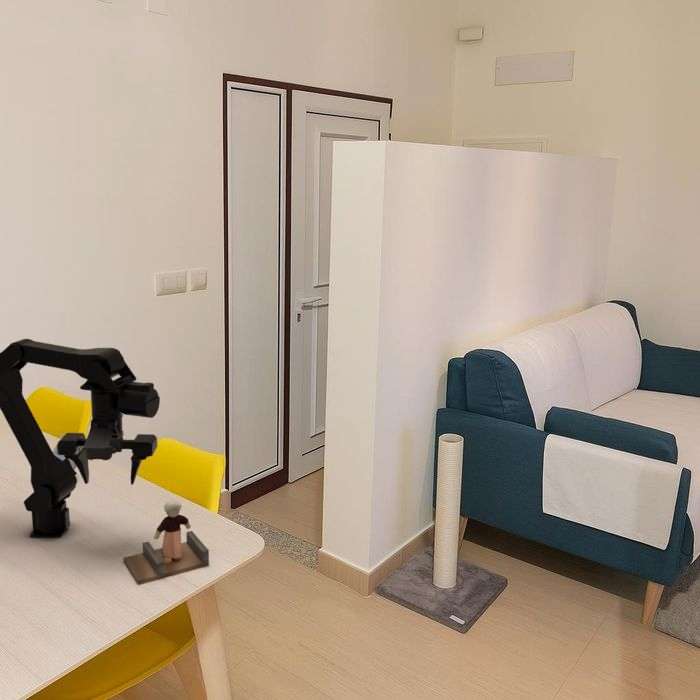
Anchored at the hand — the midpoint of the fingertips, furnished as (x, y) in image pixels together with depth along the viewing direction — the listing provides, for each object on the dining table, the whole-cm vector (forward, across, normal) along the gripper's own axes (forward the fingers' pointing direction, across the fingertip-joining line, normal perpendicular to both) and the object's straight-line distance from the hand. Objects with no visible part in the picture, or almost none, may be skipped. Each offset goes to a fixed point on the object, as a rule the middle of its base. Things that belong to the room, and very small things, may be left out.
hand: (109, 483), depth 150 cm
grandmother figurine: (+12, +14, -8) cm, 21 cm away
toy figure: (+13, -19, +29) cm, 37 cm away
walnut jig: (+13, +13, -9) cm, 20 cm away
